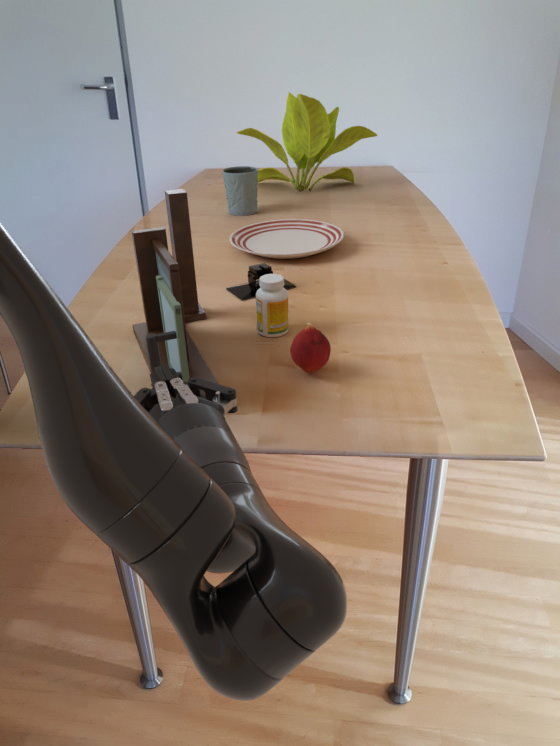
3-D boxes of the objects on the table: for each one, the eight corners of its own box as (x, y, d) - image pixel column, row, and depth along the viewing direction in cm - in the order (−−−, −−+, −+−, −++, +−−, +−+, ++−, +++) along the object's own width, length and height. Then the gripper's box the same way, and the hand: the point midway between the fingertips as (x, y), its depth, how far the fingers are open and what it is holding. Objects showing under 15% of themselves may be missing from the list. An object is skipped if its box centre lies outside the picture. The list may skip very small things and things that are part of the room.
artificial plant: (380, 208, 186) (392, 124, 188) (321, 148, 150) (336, 45, 152) (278, 216, 209) (290, 141, 211) (205, 166, 173) (220, 76, 175)
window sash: (158, 410, 71) (142, 311, 64) (143, 370, 79) (127, 279, 72) (192, 402, 72) (180, 304, 65) (173, 364, 81) (161, 274, 74)
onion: (331, 364, 83) (333, 316, 79) (326, 383, 78) (328, 334, 74) (294, 361, 84) (294, 313, 80) (287, 380, 79) (286, 330, 75)
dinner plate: (251, 273, 117) (250, 258, 115) (216, 238, 139) (215, 225, 137) (364, 256, 125) (365, 242, 124) (314, 225, 147) (314, 213, 146)
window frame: (170, 423, 71) (151, 294, 61) (133, 332, 94) (115, 228, 85) (229, 409, 73) (219, 283, 64) (179, 323, 96) (166, 222, 87)
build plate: (241, 301, 105) (240, 278, 102) (225, 289, 110) (223, 267, 108) (296, 287, 110) (296, 265, 108) (277, 276, 115) (277, 255, 113)
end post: (179, 323, 96) (163, 196, 85) (173, 313, 100) (157, 189, 89) (206, 318, 98) (194, 192, 87) (199, 308, 102) (187, 186, 91)
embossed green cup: (265, 210, 163) (264, 167, 157) (247, 218, 155) (244, 174, 149) (237, 206, 167) (235, 165, 161) (218, 214, 160) (215, 171, 154)
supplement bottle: (251, 334, 92) (248, 280, 87) (266, 322, 96) (264, 270, 91) (279, 340, 90) (278, 286, 85) (293, 327, 94) (293, 274, 89)
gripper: (268, 411, 49) (214, 332, 63) (118, 449, 45) (95, 355, 58) (271, 475, 53) (219, 388, 66) (132, 515, 48) (107, 413, 62)
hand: (161, 373), depth 62 cm, fingers closed
